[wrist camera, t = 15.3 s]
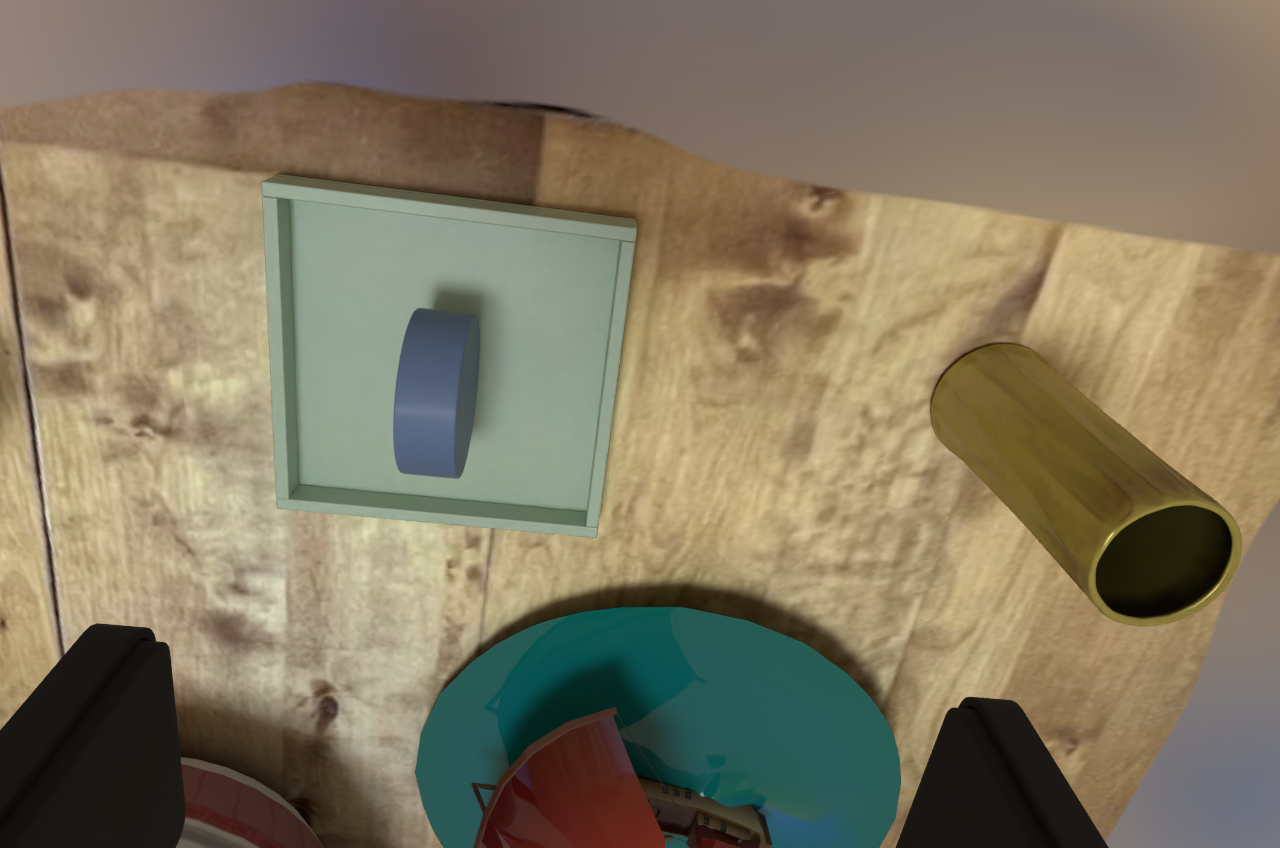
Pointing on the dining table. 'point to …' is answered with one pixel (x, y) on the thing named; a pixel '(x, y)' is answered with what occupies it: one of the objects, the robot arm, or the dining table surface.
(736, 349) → the dining table surface
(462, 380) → the disc
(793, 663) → the boat on round base
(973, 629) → the dining table surface
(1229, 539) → the vase
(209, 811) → the bowl
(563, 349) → the tray
